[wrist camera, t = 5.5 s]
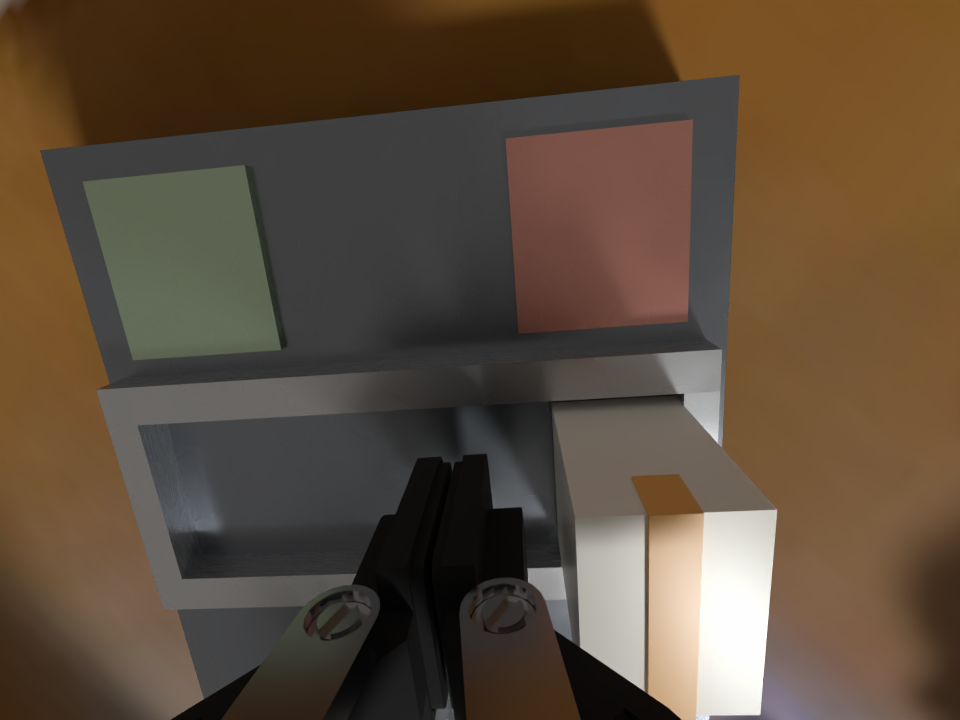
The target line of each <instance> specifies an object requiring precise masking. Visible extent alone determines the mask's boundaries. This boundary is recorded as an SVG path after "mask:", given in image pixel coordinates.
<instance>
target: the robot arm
mask: <svg viewBox="0 0 960 720" xmlns="http://www.w3.org/2000/svg"><path fill="white" fill-rule="evenodd" d="M448 692H449V697H450V703H451V707H452V709H453V711H454V718H455V720H682V719H680V718H679V717H678V716H677V715H676V714H675V713H674V712H673V711H671V710H670V709H669V708H668V707H666V706H665V705H664V704H662V703H661V702H659V701H658V700H656V699H655V698H653V697H652V696H650V695H649V694H647V693H646V692H645V691H643V690H642V689H640V688H639V687H637V686H636V685H634V684H633V683H631V682H630V681H628V680H627V679H626V678H624V677H623V676H621V675H620V674H618V673H617V672H615V671H614V670H612V669H611V668H609V667H608V666H607V665H605V664H604V663H602V662H601V661H599V660H598V659H596V658H595V657H593V656H592V655H591V654H589V653H588V652H586V651H585V650H583V649H582V648H580V647H579V646H577V645H576V644H574V643H573V642H572V641H570V640H569V639H567V638H566V637H564V636H563V635H561V634H560V633H558V632H557V631H555V630H554V628H553V625H552V622H551V618H550V615H549V611H548V608H547V605H546V601H545V599H544V597H543V596H542V594H541V592H540V591H539V590H538V589H537V588H536V587H535V586H533V585H532V584H530V583H528V569H527V554H526V542H525V531H524V520H523V510H522V507H512V508H495V509H493V502H492V493H491V484H490V474H489V465H488V458H487V454H471V455H463V459H462V461H459V462H455V463H454V467H453V471H452V466H451V463H450V462H443V460H442V457H426V458H418V459H417V461H416V463H415V466H414V468H413V471H412V473H411V476H410V478H409V481H408V484H407V486H406V489H405V491H404V494H403V496H402V499H401V501H400V504H399V506H398V509H397V512H396V514H390V515H383V516H382V517H381V519H380V521H379V523H378V525H377V528H376V530H375V532H374V534H373V537H372V539H371V541H370V544H369V546H368V548H367V550H366V553H365V555H364V557H363V560H362V562H361V564H360V566H359V569H358V571H357V573H356V576H355V578H354V580H353V582H352V585H343V586H339V587H335V588H332V589H329V590H327V591H325V592H323V593H321V594H319V595H318V596H316V597H315V598H313V599H312V600H310V601H309V602H308V603H307V604H306V605H305V606H304V607H303V608H302V610H301V611H300V612H299V613H298V615H297V616H296V617H295V619H294V620H293V621H292V623H291V624H290V626H289V627H288V628H287V630H286V631H285V632H284V634H283V635H282V637H281V638H280V639H279V641H278V642H277V643H276V645H275V646H274V648H273V649H272V650H271V652H270V653H269V654H268V656H267V657H266V659H265V660H264V661H263V663H262V664H261V665H259V666H257V667H256V668H254V669H252V670H251V671H249V672H248V673H246V674H244V675H243V676H241V677H239V678H238V679H236V680H235V681H233V682H231V683H230V684H228V685H226V686H225V687H223V688H222V689H220V690H218V691H217V692H215V693H213V694H212V695H210V696H209V697H207V698H205V699H204V700H202V701H200V702H199V703H197V704H195V705H194V706H192V707H191V708H189V709H187V710H186V711H184V712H182V713H181V714H179V715H178V716H176V717H174V718H173V719H171V720H435V716H436V710H437V709H445V708H446V706H447V700H448Z"/></svg>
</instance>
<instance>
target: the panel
mask: <svg viewBox="0 0 960 720" xmlns="http://www.w3.org/2000/svg"><path fill="white" fill-rule="evenodd" d="M739 77H740V75H735V76H725V77H716V78H707V79H698V80H688V81H679V82H670V83H661V84H651V85H642V86H633V87H624V88H614V89H605V90H596V91H587V92H577V93H568V94H559V95H550V96H540V97H531V98H522V99H513V100H503V101H494V102H485V103H475V104H466V105H457V106H448V107H438V108H429V109H420V110H411V111H401V112H392V113H383V114H374V115H364V116H355V117H346V118H337V119H327V120H318V121H309V122H300V123H290V124H281V125H272V126H263V127H253V128H244V129H235V130H226V131H216V132H207V133H198V134H189V135H179V136H170V137H161V138H152V139H142V140H133V141H124V142H115V143H105V144H96V145H87V146H78V147H68V148H59V149H50V150H41V151H40V152H41V155H42V158H43V162H44V165H45V168H46V172H47V175H48V178H49V182H50V185H51V188H52V192H53V195H54V198H55V202H56V205H57V208H58V212H59V215H60V219H61V222H62V225H63V229H64V232H65V235H66V239H67V242H68V245H69V249H70V252H71V255H72V259H73V262H74V265H75V269H76V272H77V275H78V279H79V282H80V285H81V289H82V292H83V295H84V299H85V302H86V306H87V309H88V312H89V316H90V319H91V322H92V326H93V329H94V332H95V336H96V339H97V342H98V346H99V349H100V352H101V356H102V359H103V362H104V366H105V369H106V372H107V376H108V379H109V383H110V384H109V385H107V386H104V387H102V388H100V389H97V390H96V391H97V394H98V397H99V400H100V404H101V407H102V410H103V414H104V417H105V420H106V423H107V427H108V430H109V433H110V436H111V440H112V443H113V446H114V449H115V453H116V456H117V459H118V462H119V466H120V469H121V472H122V475H123V479H124V482H125V485H126V488H127V492H128V495H129V498H130V501H131V505H132V508H133V511H134V514H135V518H136V521H137V524H138V527H139V531H140V534H141V537H142V540H143V544H144V547H145V550H146V553H147V557H148V560H149V563H150V566H151V570H152V573H153V576H154V579H155V583H156V586H157V589H158V592H159V596H160V599H161V602H162V605H163V609H164V610H176V609H177V610H178V613H179V617H180V620H181V623H182V627H183V630H184V633H185V637H186V640H187V644H188V647H189V650H190V654H191V657H192V660H193V664H194V667H195V670H196V674H197V677H198V680H199V684H200V687H201V690H202V694H203V697H204V699H205V698H207V697H209V696H210V695H212V694H213V693H215V692H217V691H218V690H220V689H222V688H223V687H225V686H226V685H228V684H230V683H231V682H233V681H235V680H236V679H238V678H239V677H241V676H243V675H244V674H246V673H248V672H249V671H251V670H252V669H254V668H256V667H257V666H259V665H261V664H262V663H263V661H264V660H265V659H266V657H267V656H268V654H269V653H270V652H271V650H272V649H273V648H274V646H275V645H276V643H277V642H278V641H279V639H280V638H281V637H282V635H283V634H284V632H285V631H286V630H287V628H288V627H289V626H290V624H291V623H292V621H293V620H294V619H295V617H296V616H297V615H298V613H299V612H300V611H301V610H302V608H303V607H304V606H305V605H306V604H307V603H308V602H309V601H310V600H312V599H313V598H315V597H316V596H318V595H319V594H321V593H323V592H325V591H327V590H329V589H332V588H335V587H339V586H343V585H352V582H353V580H354V578H355V576H356V573H357V571H358V569H359V566H360V564H361V562H362V560H363V557H364V555H365V553H366V550H367V548H368V546H369V544H370V541H371V539H372V537H373V534H374V532H375V530H376V528H377V525H378V523H379V521H380V519H381V517H382V516H383V515H390V514H396V512H397V509H398V506H399V504H400V501H401V499H402V496H403V494H404V491H405V489H406V486H407V484H408V481H409V478H410V476H411V473H412V471H413V468H414V466H415V463H416V461H417V459H418V458H426V457H442V460H443V462H450V463H451V466H452V471H453V467H454V463H455V462H459V461H462V459H463V455H471V454H487V458H488V465H489V474H490V484H491V493H492V502H493V509H495V508H512V507H522V510H523V520H524V531H525V542H526V554H527V569H528V583H530V584H532V585H533V586H535V587H536V588H537V589H538V590H539V591H540V592H541V594H542V596H543V597H544V599H545V601H546V605H547V608H548V611H549V615H550V618H551V622H552V625H553V628H554V630H555V631H557V632H558V633H560V634H561V635H563V636H564V637H566V638H567V639H569V640H570V641H572V634H571V627H570V620H569V613H568V606H567V599H566V591H565V584H564V577H563V570H562V563H561V556H560V549H559V541H558V523H557V503H556V483H555V463H554V444H553V424H552V404H551V403H553V402H570V401H588V400H605V399H622V398H639V397H657V396H674V395H675V396H676V398H677V399H678V400H679V401H680V402H681V403H682V404H683V405H684V406H685V407H686V409H687V410H688V411H689V412H690V413H691V414H692V415H693V416H694V417H695V419H696V420H697V421H698V422H699V423H700V424H701V425H702V426H703V428H704V429H705V430H706V431H707V432H708V433H709V434H710V435H711V436H712V438H713V439H714V440H715V441H716V442H717V443H718V444H719V445H720V446H721V448H722V434H723V413H724V392H725V371H726V350H727V329H728V308H729V287H730V266H731V245H732V224H733V203H734V182H735V161H736V140H737V119H738V98H739ZM572 642H573V641H572ZM435 720H455V718H454V711H453V709H452V707H451V703H450V697H449V692H448V700H447V706H446V708H445V709H437V710H436V716H435ZM696 720H709V715H696Z"/></svg>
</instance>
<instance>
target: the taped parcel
mask: <svg viewBox="0 0 960 720" xmlns="http://www.w3.org/2000/svg"><path fill="white" fill-rule="evenodd" d="M551 404H552V424H553V444H554V463H555V483H556V503H557V523H558V541H559V549H560V556H561V563H562V570H563V577H564V584H565V591H566V599H567V606H568V613H569V620H570V627H571V634H572V641H573V643H574V644H576V645H577V646H579V647H580V648H582V649H583V650H585V651H586V652H588V653H589V654H591V655H592V656H593V657H595V658H596V659H598V660H599V661H601V662H602V663H604V664H605V665H607V666H608V667H609V668H611V669H612V670H614V671H615V672H617V673H618V674H620V675H621V676H623V677H624V678H626V679H627V680H628V681H630V682H631V683H633V684H634V685H636V686H637V687H639V688H640V689H642V690H643V691H645V692H646V693H647V694H649V695H650V696H652V697H653V698H655V699H656V700H658V701H659V702H661V703H662V704H664V705H665V706H666V707H668V708H669V709H670V710H671V711H673V712H674V713H675V714H676V715H677V716H678V717H679V718H680V719H682V720H696V715H760V711H761V698H762V686H763V674H764V662H765V650H766V638H767V626H768V614H769V602H770V590H771V578H772V566H773V554H774V542H775V530H776V518H777V509H776V508H775V507H774V506H773V504H772V503H771V502H770V501H769V500H768V499H767V498H766V497H765V496H764V494H763V493H762V492H761V491H760V490H759V489H758V488H757V487H756V486H755V484H754V483H753V482H752V481H751V480H750V479H749V478H748V477H747V475H746V474H745V473H744V472H743V471H742V470H741V469H740V468H739V467H738V465H737V464H736V463H735V462H734V461H733V460H732V459H731V458H730V457H729V455H728V454H727V453H726V452H725V451H724V450H723V449H722V448H721V446H720V445H719V444H718V443H717V442H716V441H715V440H714V439H713V438H712V436H711V435H710V434H709V433H708V432H707V431H706V430H705V429H704V428H703V426H702V425H701V424H700V423H699V422H698V421H697V420H696V419H695V417H694V416H693V415H692V414H691V413H690V412H689V411H688V410H687V409H686V407H685V406H684V405H683V404H682V403H681V402H680V401H679V400H678V399H677V398H676V396H675V395H674V396H657V397H639V398H622V399H605V400H588V401H570V402H553V403H551Z"/></svg>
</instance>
